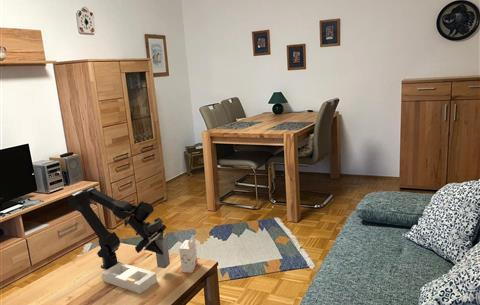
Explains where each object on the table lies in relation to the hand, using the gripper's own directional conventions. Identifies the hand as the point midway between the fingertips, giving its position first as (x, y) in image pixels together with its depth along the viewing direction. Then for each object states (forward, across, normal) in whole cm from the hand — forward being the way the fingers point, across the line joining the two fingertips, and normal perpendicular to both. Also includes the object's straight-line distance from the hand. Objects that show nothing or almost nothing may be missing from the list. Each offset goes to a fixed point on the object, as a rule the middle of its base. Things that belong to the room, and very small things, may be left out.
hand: (164, 251), depth 171 cm
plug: (+4, 0, +6) cm, 7 cm away
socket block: (-2, -10, +16) cm, 19 cm away
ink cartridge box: (+13, +6, +2) cm, 15 cm away
